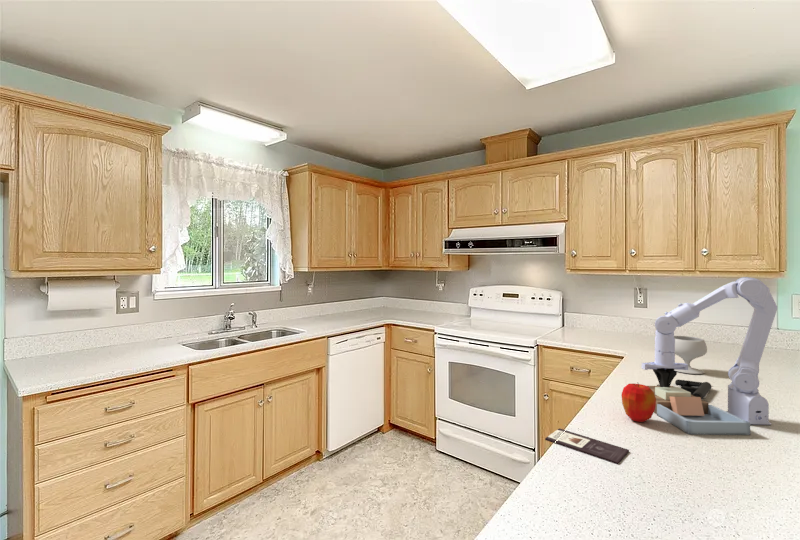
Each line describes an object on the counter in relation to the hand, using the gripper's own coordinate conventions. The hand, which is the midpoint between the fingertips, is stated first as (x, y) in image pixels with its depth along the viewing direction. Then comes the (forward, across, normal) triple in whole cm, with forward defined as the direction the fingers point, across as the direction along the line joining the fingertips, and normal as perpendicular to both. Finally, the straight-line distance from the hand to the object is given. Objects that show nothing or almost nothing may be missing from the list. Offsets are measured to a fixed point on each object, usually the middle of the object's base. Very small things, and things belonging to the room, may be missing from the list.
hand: (664, 390), depth 132 cm
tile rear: (+1, 0, +4) cm, 4 cm away
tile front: (+2, 0, +9) cm, 10 cm away
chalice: (+5, -38, -43) cm, 58 cm away
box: (+5, 0, +16) cm, 17 cm away
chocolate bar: (+6, +41, +31) cm, 52 cm away
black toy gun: (+6, -17, -15) cm, 23 cm away
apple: (+5, +17, +14) cm, 23 cm away
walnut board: (+5, 0, 0) cm, 5 cm away
